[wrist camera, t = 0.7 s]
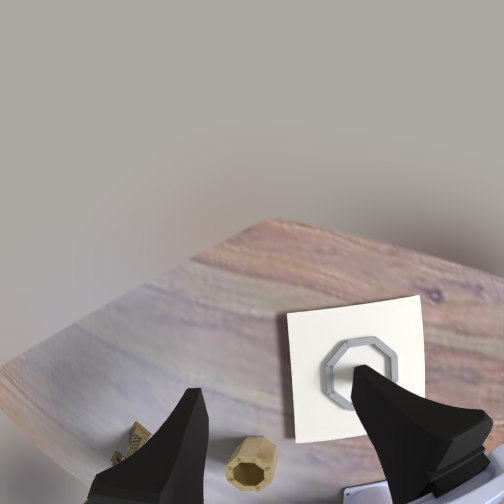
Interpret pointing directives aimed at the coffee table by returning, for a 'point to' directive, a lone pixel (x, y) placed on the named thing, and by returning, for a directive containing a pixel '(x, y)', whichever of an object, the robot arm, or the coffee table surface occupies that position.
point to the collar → (252, 464)
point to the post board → (350, 361)
